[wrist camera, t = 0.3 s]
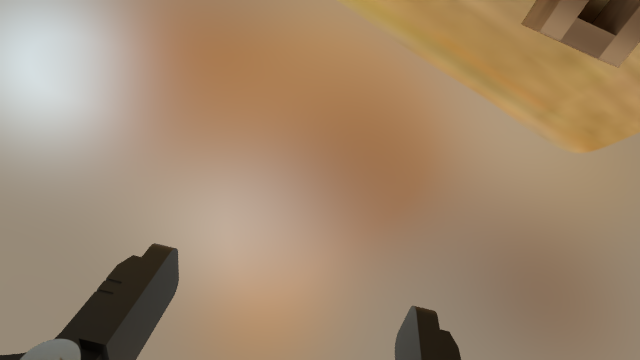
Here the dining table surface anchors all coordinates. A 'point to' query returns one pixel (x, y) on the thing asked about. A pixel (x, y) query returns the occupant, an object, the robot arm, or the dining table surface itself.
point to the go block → (590, 27)
